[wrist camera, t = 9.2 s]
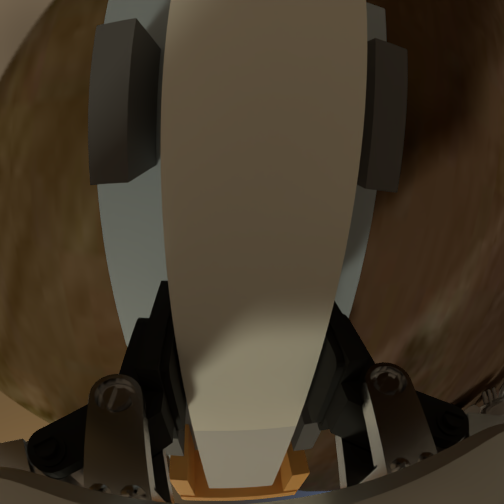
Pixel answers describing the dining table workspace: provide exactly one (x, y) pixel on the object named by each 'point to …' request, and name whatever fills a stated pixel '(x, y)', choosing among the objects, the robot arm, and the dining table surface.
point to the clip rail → (150, 199)
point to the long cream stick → (257, 211)
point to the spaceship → (490, 403)
